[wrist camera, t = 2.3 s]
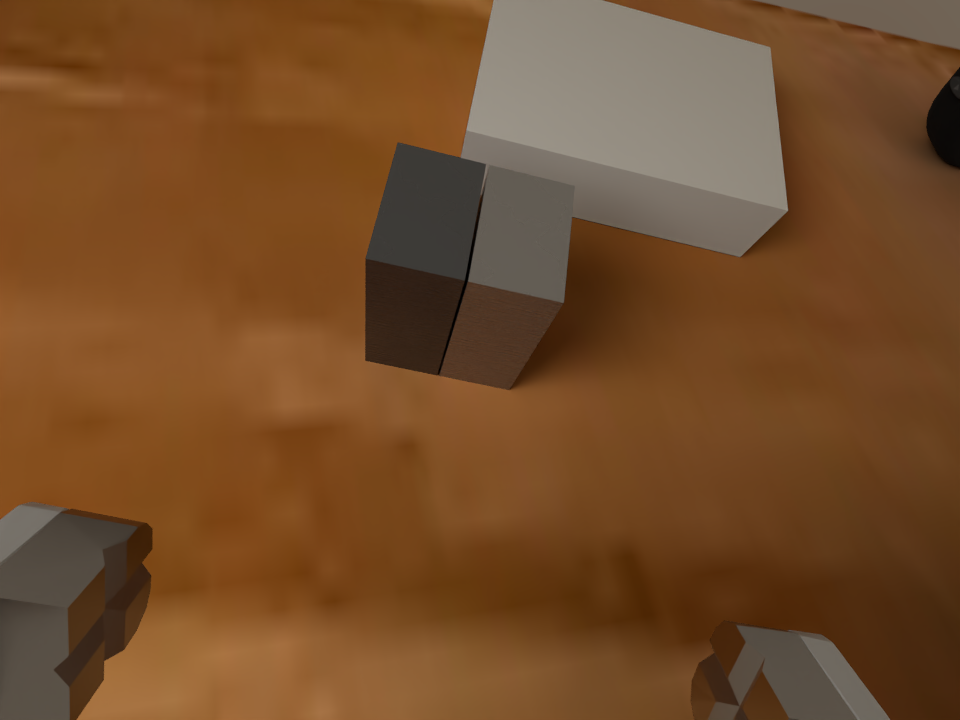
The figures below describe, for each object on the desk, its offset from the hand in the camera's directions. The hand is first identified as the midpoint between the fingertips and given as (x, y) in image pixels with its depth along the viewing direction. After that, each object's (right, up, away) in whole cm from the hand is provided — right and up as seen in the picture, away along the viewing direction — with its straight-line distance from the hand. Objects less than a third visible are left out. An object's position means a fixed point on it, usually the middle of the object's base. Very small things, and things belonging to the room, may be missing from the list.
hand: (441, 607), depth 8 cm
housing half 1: (+1, +5, +19) cm, 19 cm away
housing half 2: (-3, +5, +18) cm, 19 cm away
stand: (+8, +16, +25) cm, 31 cm away
